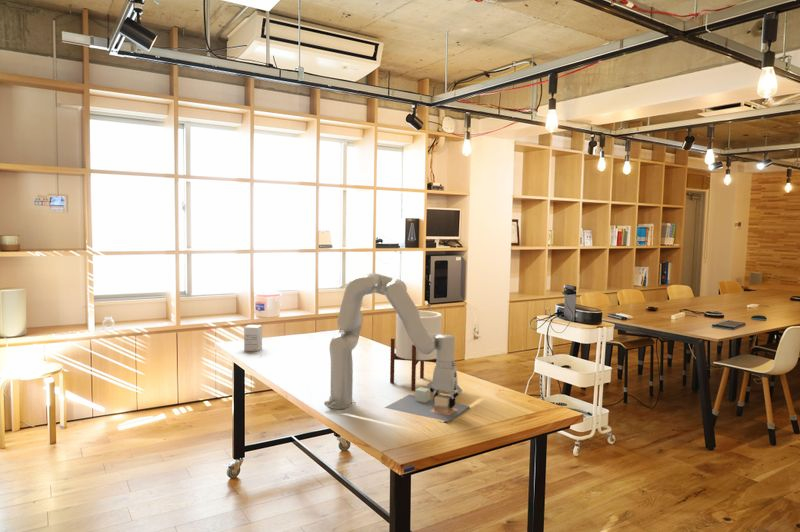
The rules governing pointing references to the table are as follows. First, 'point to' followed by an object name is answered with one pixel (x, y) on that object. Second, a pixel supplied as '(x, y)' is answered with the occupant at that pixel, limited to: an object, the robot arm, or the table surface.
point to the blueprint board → (426, 408)
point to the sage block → (422, 394)
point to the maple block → (442, 403)
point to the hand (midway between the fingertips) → (444, 405)
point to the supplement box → (252, 338)
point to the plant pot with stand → (408, 349)
